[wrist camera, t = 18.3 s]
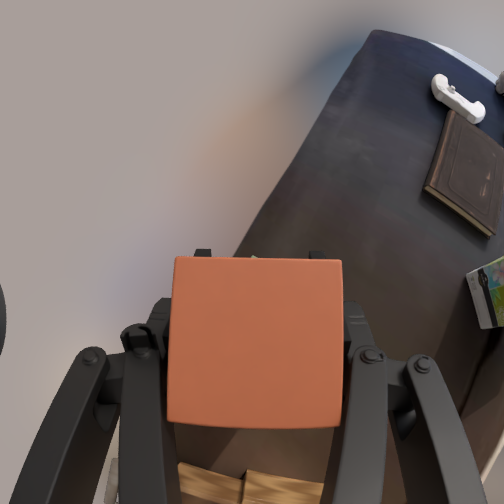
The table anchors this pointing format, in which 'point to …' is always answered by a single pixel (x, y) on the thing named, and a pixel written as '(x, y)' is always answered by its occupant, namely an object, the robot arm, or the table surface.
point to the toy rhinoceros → (500, 83)
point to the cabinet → (279, 490)
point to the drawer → (190, 486)
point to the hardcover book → (468, 174)
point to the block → (256, 343)
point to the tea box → (488, 293)
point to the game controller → (456, 100)
